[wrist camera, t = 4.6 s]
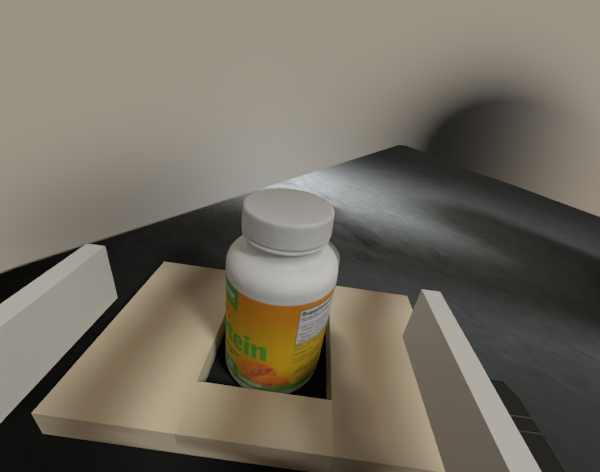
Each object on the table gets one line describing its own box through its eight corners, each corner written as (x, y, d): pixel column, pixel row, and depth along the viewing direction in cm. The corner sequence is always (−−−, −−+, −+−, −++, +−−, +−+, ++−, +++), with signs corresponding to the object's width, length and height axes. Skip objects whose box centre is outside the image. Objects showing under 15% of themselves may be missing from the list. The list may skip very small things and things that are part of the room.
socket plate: (401, 311, 22) (407, 295, 21) (463, 493, 12) (478, 477, 11) (166, 277, 22) (164, 261, 21) (42, 433, 12) (31, 413, 12)
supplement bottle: (206, 351, 17) (198, 194, 12) (275, 309, 20) (289, 176, 16) (268, 423, 14) (288, 250, 9) (335, 358, 17) (375, 212, 13)
